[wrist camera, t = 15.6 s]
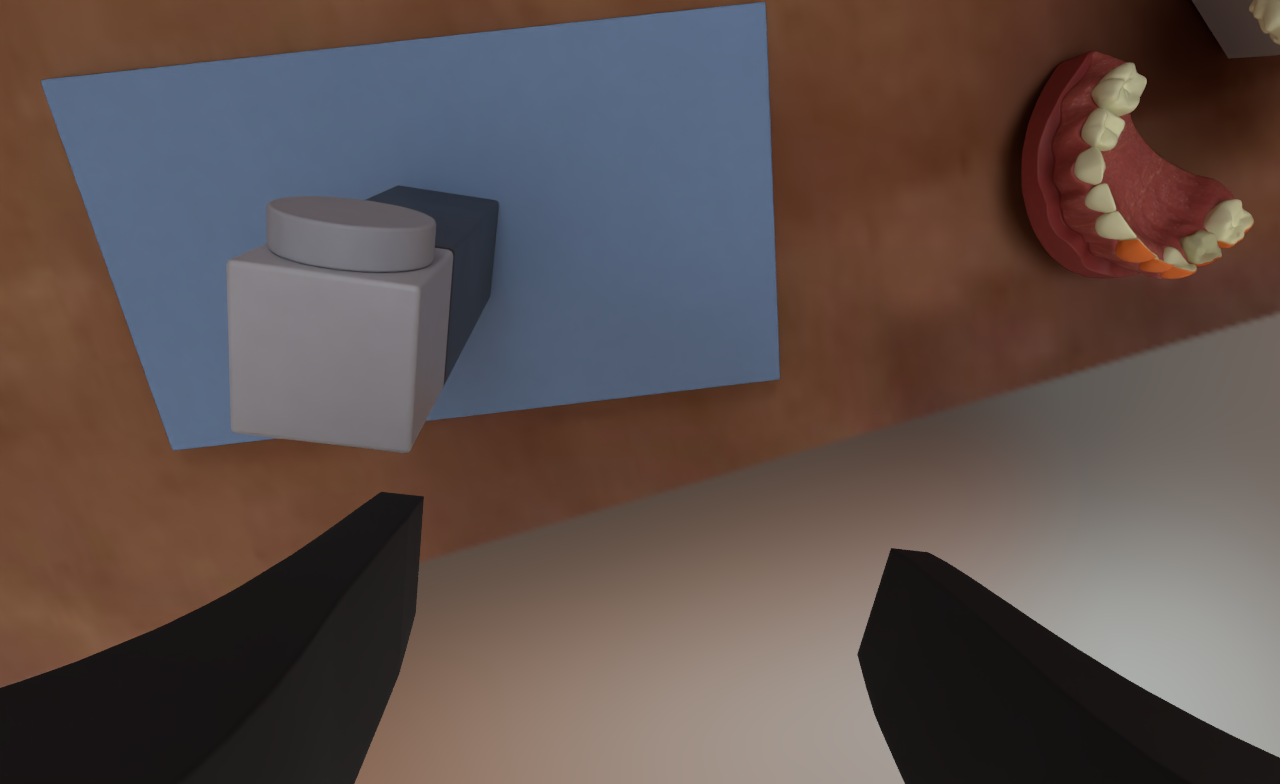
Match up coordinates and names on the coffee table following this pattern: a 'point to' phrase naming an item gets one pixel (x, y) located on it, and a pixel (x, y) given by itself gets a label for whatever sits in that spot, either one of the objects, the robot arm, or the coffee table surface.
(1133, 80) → the dentures
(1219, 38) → the icon cube
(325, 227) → the grey toy brick
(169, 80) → the rubber mat
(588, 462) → the coffee table surface
